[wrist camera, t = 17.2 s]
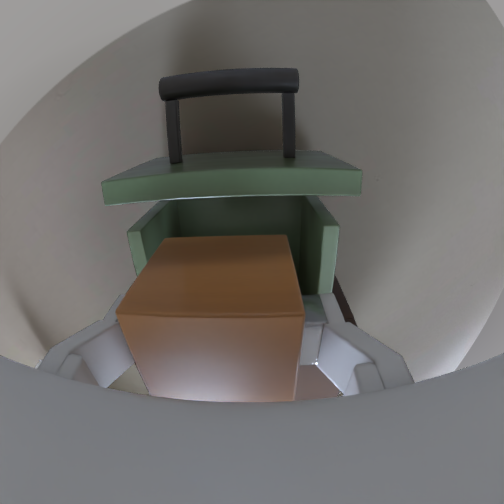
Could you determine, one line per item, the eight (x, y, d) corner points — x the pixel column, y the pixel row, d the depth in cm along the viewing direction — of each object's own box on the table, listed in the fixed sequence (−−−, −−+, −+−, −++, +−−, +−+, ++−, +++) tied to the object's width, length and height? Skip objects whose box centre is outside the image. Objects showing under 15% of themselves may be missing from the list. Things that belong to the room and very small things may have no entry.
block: (164, 236, 10) (112, 310, 6) (287, 233, 10) (306, 312, 6) (183, 329, 12) (158, 411, 8) (283, 329, 12) (292, 416, 8)
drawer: (151, 92, 16) (91, 80, 9) (321, 82, 16) (362, 59, 8) (183, 322, 24) (162, 390, 17) (310, 320, 24) (325, 390, 17)
